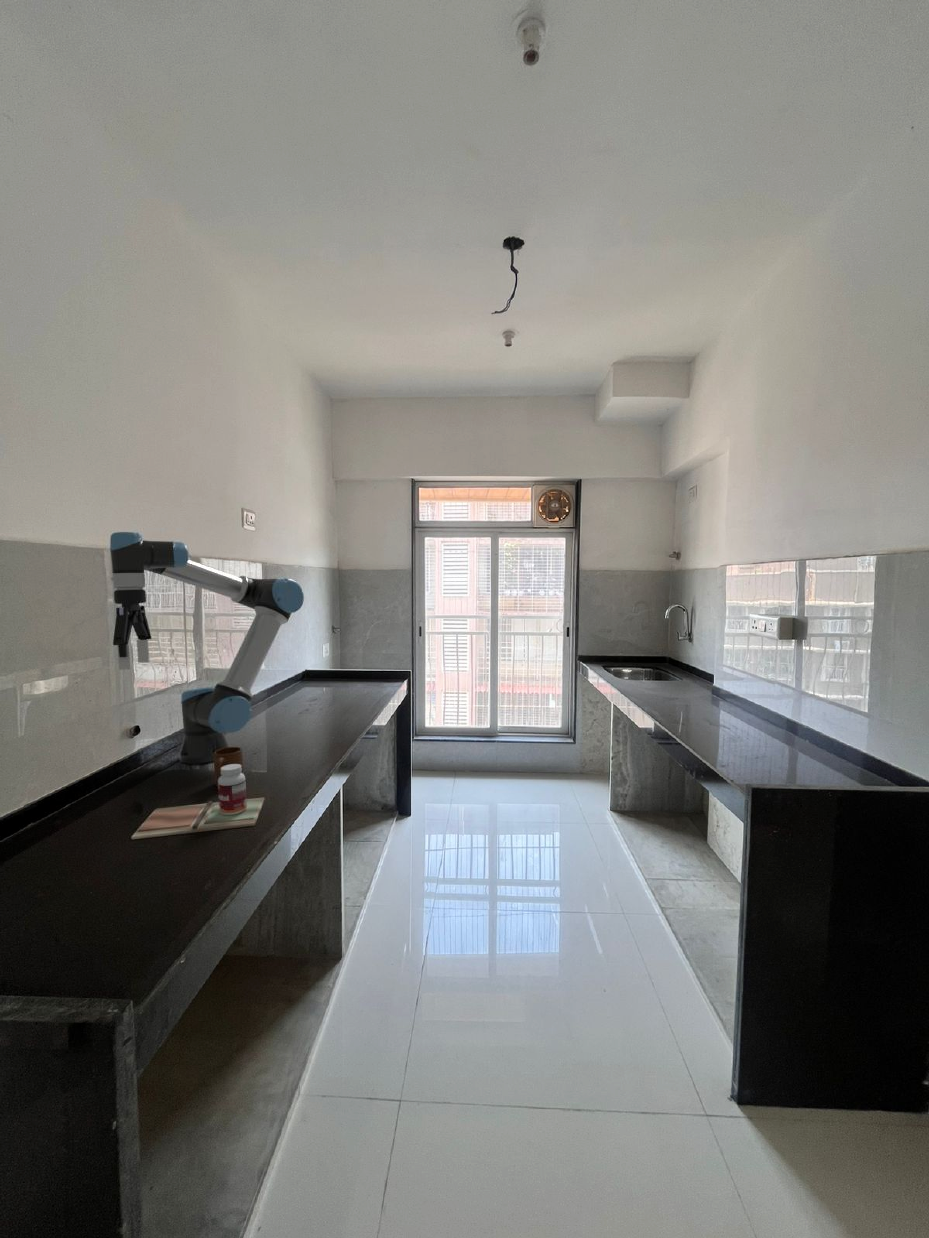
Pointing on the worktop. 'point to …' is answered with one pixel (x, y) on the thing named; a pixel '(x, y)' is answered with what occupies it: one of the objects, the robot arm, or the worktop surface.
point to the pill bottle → (232, 790)
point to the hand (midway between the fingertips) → (135, 665)
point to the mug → (227, 759)
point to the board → (196, 819)
